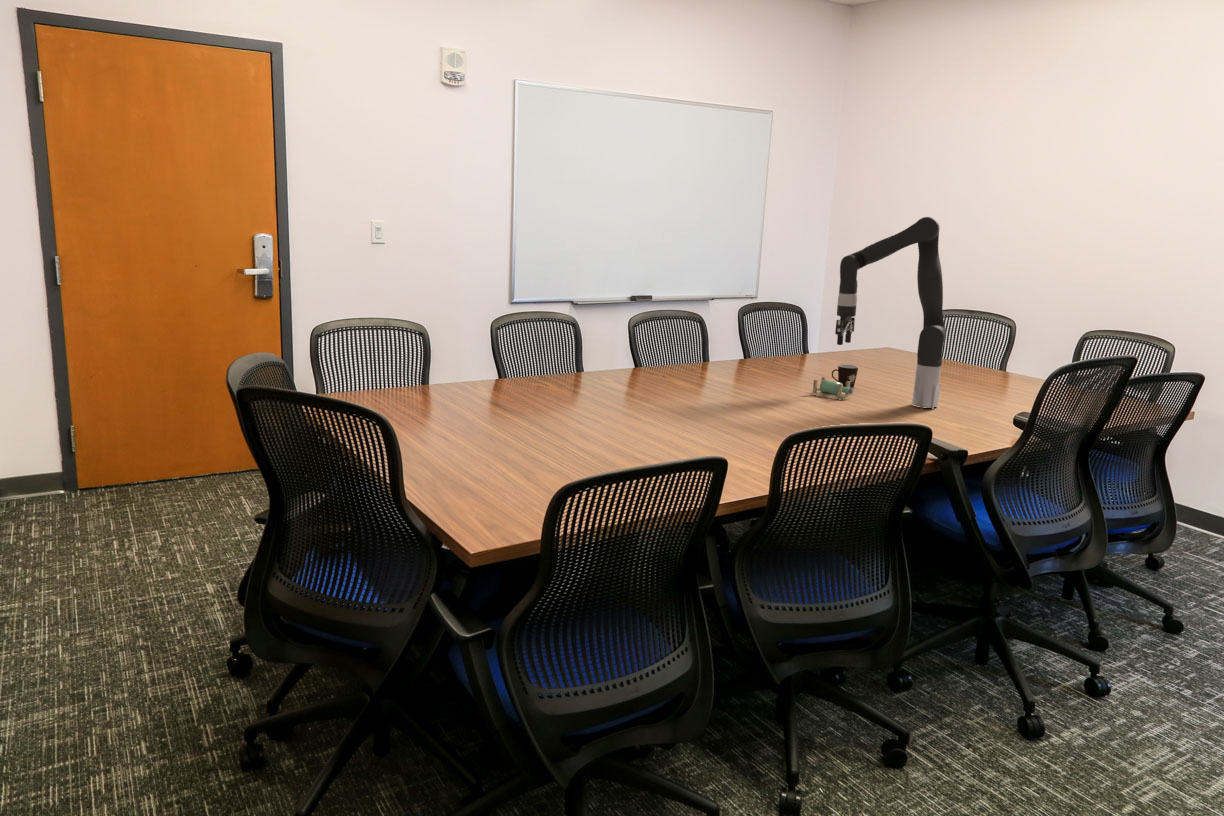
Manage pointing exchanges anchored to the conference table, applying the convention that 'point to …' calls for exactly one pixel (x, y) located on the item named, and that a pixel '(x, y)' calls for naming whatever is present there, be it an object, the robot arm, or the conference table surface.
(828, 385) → the bottle
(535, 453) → the conference table surface
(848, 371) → the coffee mug
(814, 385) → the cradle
